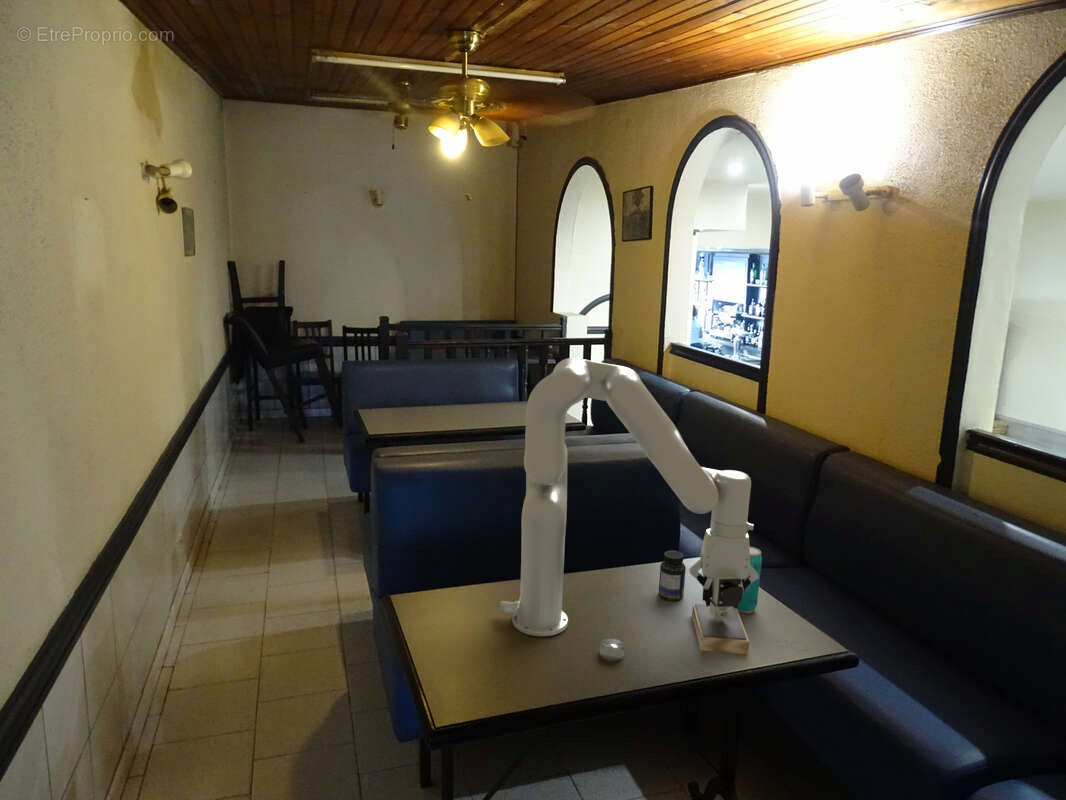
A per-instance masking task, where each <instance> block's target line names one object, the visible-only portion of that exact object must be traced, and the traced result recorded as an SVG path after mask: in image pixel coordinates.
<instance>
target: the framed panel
mask: <svg viewBox="0 0 1066 800" xmlns="http://www.w3.org/2000/svg"><path fill="white" fill-rule="evenodd" d="M709 610H710V606H706V604H701V603H695V604H694V603H693V604H692V610H691V617H692V618H693V619H692V622H694V623H693V626H695V627H694V631H695V634H696V638H697V643H698V646H699V651H704V652H713V651H714V652H713V653H717V652H718V653H726V652H727V653H726V654H740V655H749V646H750V640H749V637H748V635H747V634H748V633H747V632H746V629H745V626H744V623H743V622H742V619H741V616H740V612H739V611H738V610H737V609H736V608H734V607H733V606H731V607H730V609H729V619H718V620H715V619H714V618H713V617H712V615H711V614H710V612H709Z"/></svg>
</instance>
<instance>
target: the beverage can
mask: <svg viewBox="0 0 1066 800" xmlns="http://www.w3.org/2000/svg"><path fill="white" fill-rule="evenodd" d="M762 560H763V557H762V551H761V550H760V549H759V548H757V547H753V546H750V564H751V566H752V567H753V568H754V570H755V571H756V572H757V573H758V576H759V578H758V579H757V580H755V581H754V582H751V584H750V585H749V586H747V587H746V588H745V589H744V590H743V595H742V601H740V603H739V606H738V607H737V610H738V613H741V612H742V613H741V614H752V613H753V612H754V611H755V609H756V608H757V606H758V599H759V589H760V580H761V571H762ZM749 575H750V573H749ZM749 575H748V576H749Z"/></svg>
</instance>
